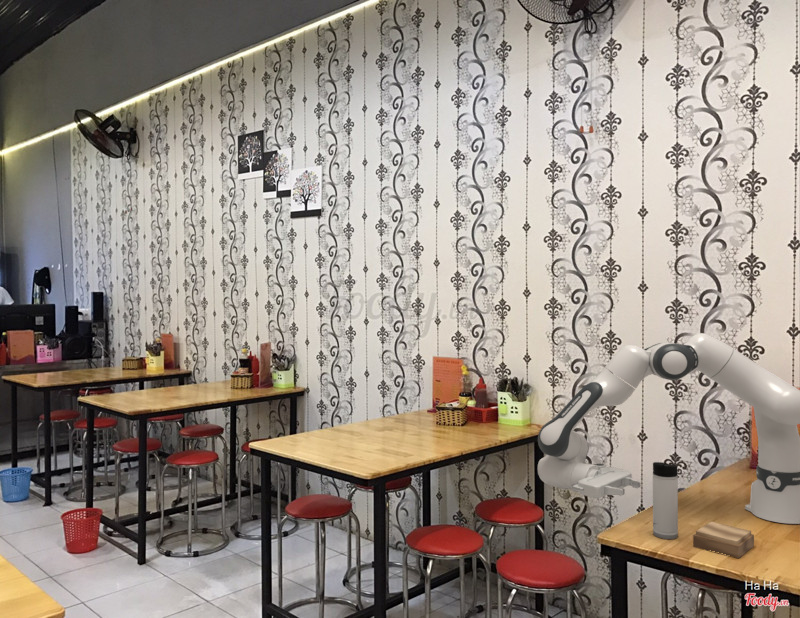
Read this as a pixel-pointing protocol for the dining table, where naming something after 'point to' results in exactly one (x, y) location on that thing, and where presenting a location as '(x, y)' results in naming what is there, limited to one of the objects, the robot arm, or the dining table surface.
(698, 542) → the plinth
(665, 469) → the travel mug
